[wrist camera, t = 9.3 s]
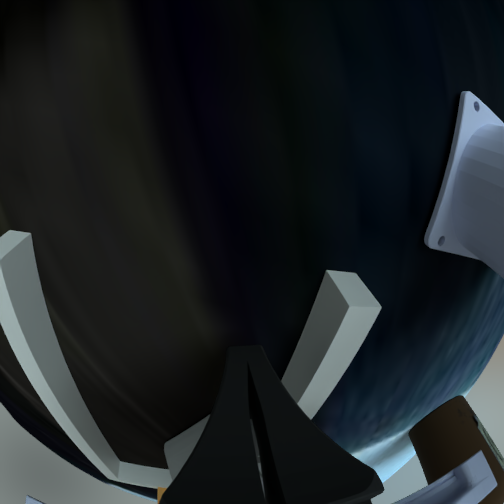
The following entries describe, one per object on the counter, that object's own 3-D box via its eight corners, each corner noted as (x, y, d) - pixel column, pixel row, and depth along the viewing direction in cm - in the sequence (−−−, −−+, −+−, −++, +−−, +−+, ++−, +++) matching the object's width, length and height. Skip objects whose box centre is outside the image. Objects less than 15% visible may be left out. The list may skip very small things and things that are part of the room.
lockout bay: (355, 273, 11) (421, 363, 7) (244, 475, 24) (249, 513, 19) (9, 230, 8) (-64, 297, 4) (110, 462, 21) (106, 499, 16)
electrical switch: (224, 399, 15) (252, 538, 7) (282, 410, 17) (317, 521, 9) (161, 440, 18) (171, 536, 10) (212, 449, 20) (228, 534, 12)
